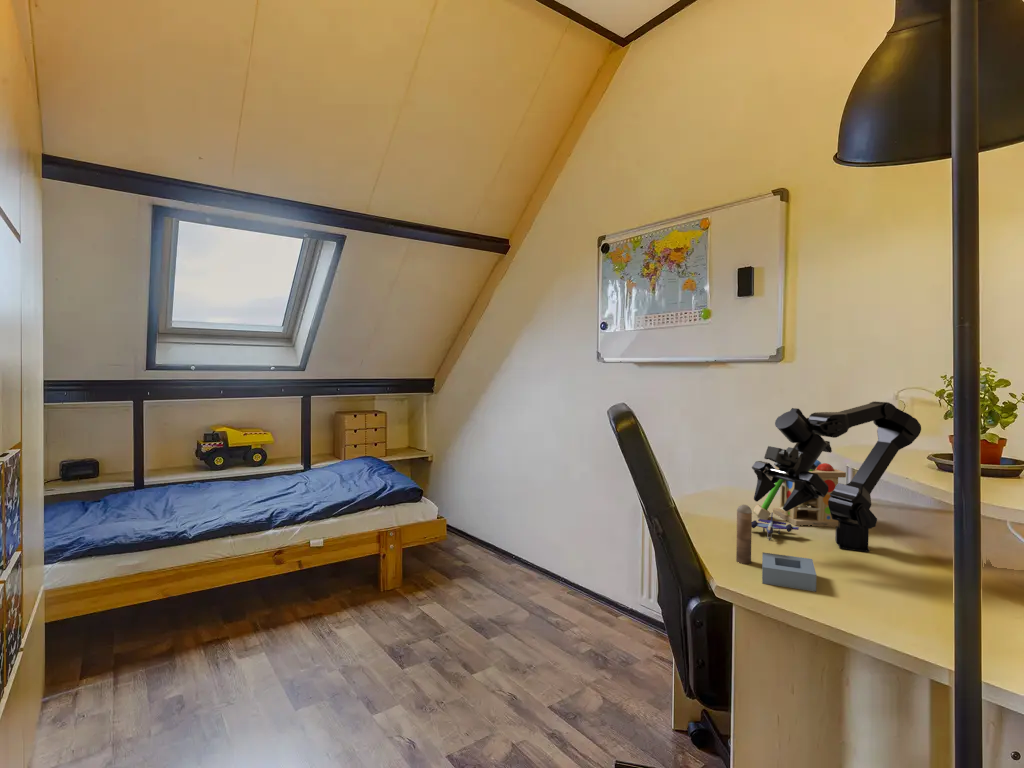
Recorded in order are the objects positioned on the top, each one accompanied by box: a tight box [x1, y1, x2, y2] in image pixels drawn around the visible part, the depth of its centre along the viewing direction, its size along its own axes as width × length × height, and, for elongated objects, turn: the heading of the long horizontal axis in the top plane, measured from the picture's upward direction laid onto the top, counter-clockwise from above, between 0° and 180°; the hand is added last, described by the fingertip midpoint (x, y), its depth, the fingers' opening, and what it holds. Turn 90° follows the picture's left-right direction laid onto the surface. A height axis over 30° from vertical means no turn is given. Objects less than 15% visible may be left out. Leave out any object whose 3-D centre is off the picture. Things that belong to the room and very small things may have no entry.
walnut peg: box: [735, 504, 753, 565], centre depth 126 cm, size 3×3×14 cm
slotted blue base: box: [761, 552, 817, 593], centre depth 116 cm, size 10×10×4 cm
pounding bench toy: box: [752, 459, 847, 527], centre depth 161 cm, size 23×14×18 cm, turn 89°
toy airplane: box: [752, 511, 800, 541], centre depth 145 cm, size 13×14×4 cm
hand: (769, 505), depth 128 cm, fingers open, 9 cm apart
